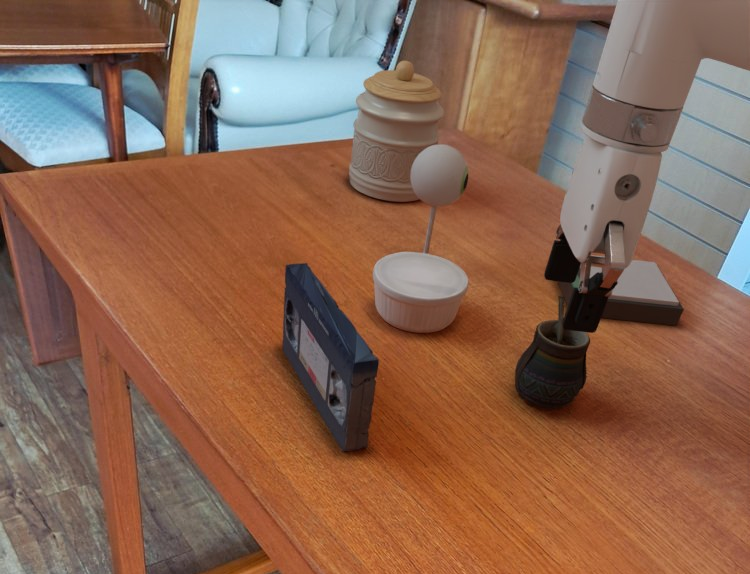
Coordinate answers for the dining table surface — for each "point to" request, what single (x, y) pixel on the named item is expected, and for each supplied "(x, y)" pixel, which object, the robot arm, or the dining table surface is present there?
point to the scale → (637, 295)
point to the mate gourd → (552, 365)
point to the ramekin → (418, 291)
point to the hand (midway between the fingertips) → (568, 303)
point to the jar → (393, 131)
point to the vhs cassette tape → (328, 357)
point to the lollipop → (438, 179)
